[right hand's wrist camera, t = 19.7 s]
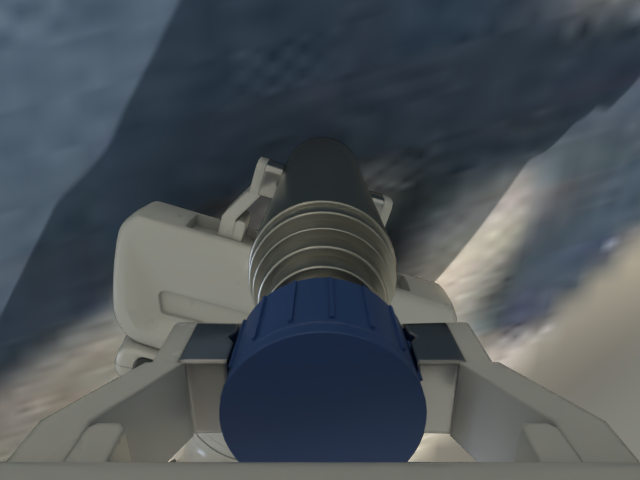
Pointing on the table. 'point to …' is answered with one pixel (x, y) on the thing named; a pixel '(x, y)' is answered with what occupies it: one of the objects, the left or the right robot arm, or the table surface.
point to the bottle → (322, 226)
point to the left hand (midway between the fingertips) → (326, 178)
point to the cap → (322, 379)
